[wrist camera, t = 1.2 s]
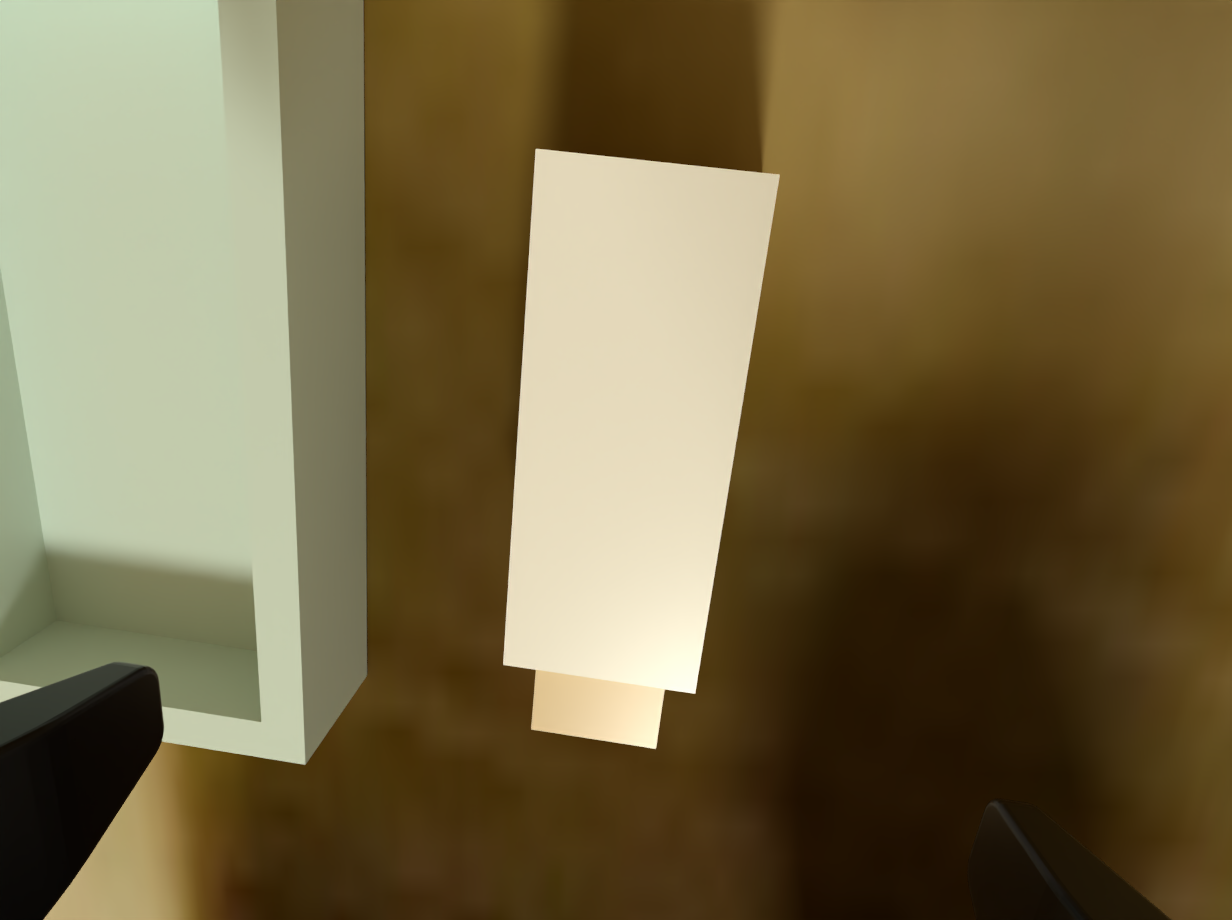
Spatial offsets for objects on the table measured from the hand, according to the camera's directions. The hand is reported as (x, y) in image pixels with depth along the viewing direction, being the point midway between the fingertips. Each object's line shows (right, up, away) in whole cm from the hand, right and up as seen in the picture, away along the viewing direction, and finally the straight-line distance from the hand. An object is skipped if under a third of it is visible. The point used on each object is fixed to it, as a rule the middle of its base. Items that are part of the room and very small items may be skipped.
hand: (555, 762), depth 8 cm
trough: (-10, +6, +10) cm, 15 cm away
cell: (+1, +4, +10) cm, 11 cm away
